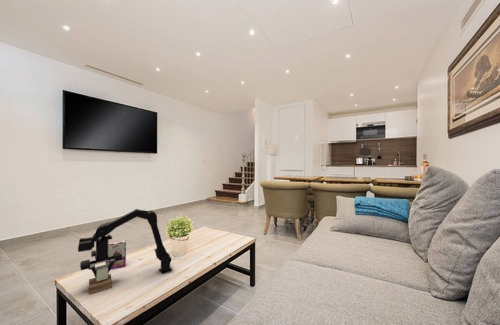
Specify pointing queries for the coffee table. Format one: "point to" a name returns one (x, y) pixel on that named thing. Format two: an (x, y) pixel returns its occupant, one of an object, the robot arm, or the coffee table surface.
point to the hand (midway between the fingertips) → (101, 275)
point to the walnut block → (99, 285)
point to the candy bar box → (115, 248)
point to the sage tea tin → (101, 272)
